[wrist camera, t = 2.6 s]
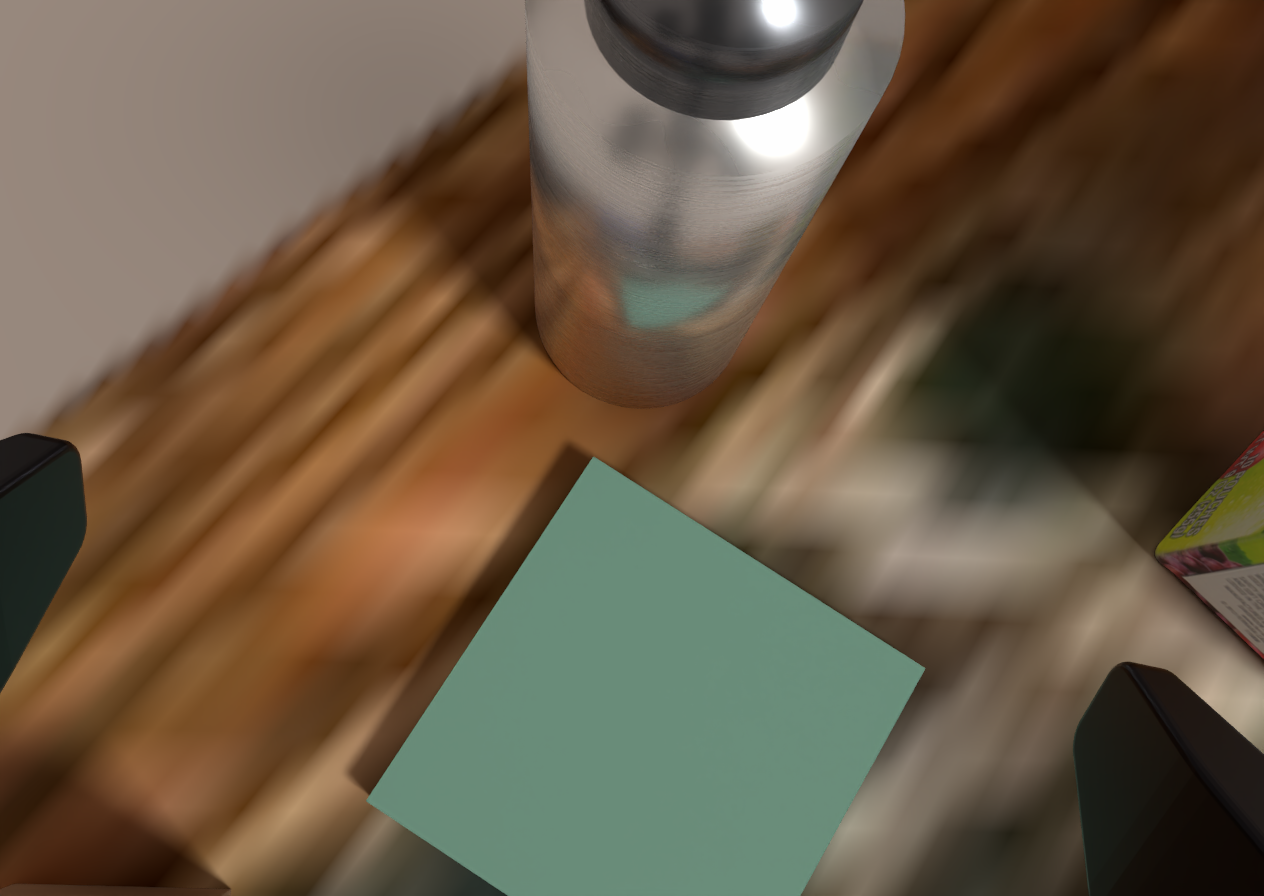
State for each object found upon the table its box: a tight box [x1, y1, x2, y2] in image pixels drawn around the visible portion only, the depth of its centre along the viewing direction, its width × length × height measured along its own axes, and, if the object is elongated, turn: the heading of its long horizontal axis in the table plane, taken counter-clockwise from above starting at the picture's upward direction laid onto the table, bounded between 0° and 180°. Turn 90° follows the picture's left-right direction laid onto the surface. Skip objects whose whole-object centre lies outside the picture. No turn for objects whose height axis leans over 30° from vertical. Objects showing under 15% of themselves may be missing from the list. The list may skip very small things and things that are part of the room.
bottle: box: [525, 0, 905, 408], centre depth 18 cm, size 5×5×12 cm
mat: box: [366, 456, 925, 896], centre depth 21 cm, size 8×8×1 cm
